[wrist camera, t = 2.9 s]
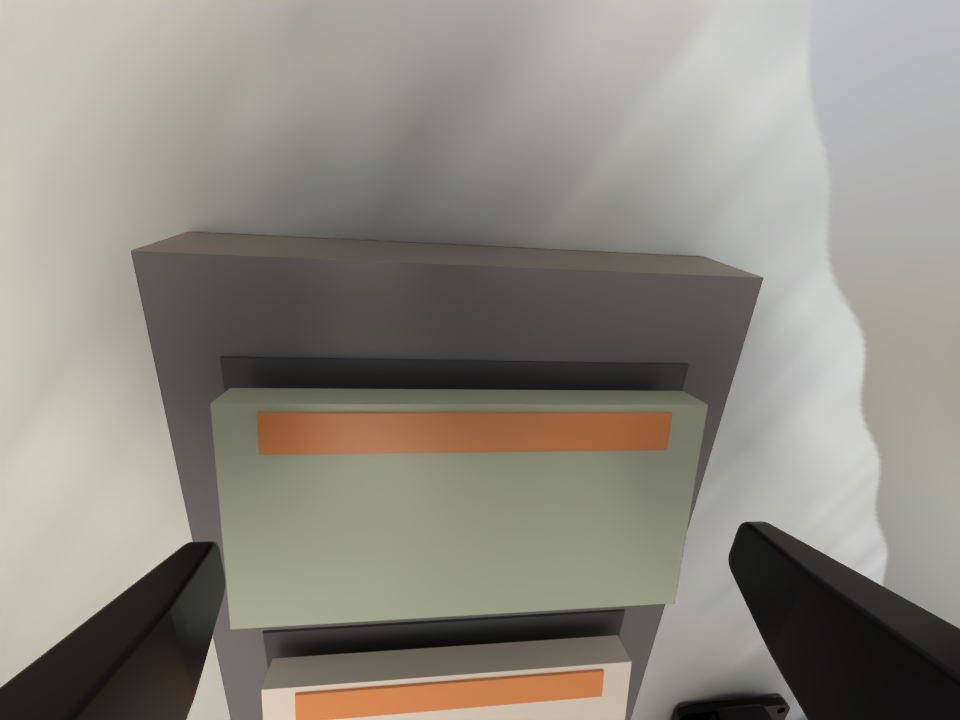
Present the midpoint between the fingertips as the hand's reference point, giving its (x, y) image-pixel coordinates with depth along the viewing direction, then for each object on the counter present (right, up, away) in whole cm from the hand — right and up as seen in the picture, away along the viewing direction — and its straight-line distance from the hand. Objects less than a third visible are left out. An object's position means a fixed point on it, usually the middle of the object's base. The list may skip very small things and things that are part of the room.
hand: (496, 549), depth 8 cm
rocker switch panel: (-1, -2, +10) cm, 11 cm away
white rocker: (-1, -10, +10) cm, 14 cm away
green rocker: (-1, 0, +6) cm, 6 cm away
